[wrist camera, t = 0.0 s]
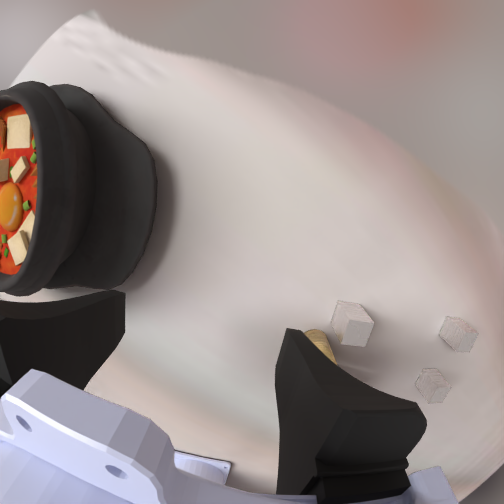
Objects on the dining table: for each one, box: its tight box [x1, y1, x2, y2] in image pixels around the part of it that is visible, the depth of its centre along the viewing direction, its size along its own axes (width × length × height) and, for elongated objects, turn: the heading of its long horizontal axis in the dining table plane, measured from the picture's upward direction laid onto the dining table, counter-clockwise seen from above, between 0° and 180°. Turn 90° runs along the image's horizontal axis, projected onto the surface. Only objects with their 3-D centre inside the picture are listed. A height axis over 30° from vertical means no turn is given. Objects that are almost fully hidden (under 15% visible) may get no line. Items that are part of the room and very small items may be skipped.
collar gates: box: [331, 301, 478, 404], centre depth 21 cm, size 8×14×4 cm, turn 79°
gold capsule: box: [304, 329, 337, 365], centre depth 20 cm, size 2×2×5 cm
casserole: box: [0, 81, 157, 296], centre depth 16 cm, size 25×19×8 cm
